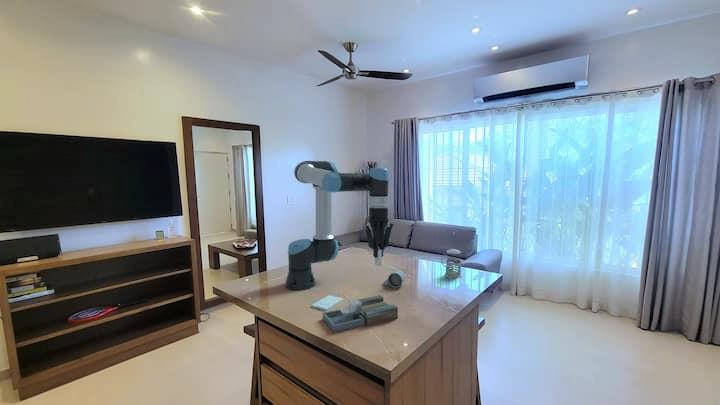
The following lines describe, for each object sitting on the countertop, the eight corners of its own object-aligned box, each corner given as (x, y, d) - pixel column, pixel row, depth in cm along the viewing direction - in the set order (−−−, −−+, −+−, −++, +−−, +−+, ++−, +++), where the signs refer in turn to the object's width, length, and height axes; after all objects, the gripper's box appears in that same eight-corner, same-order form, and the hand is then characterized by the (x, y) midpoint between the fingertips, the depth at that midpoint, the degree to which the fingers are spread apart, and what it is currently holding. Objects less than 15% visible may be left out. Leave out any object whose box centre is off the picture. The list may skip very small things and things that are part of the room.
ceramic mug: (405, 283, 155) (405, 269, 155) (402, 288, 147) (402, 273, 147) (385, 281, 159) (385, 267, 158) (381, 286, 151) (381, 272, 151)
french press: (464, 278, 163) (465, 233, 161) (443, 278, 163) (444, 233, 161) (459, 272, 173) (459, 230, 171) (439, 272, 173) (439, 230, 171)
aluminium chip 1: (348, 316, 116) (339, 319, 114) (348, 307, 116) (339, 309, 114) (353, 321, 112) (343, 323, 110) (352, 311, 112) (343, 313, 110)
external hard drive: (343, 302, 133) (326, 312, 123) (328, 298, 138) (311, 308, 127) (343, 298, 133) (326, 308, 123) (328, 295, 137) (311, 304, 127)
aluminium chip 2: (348, 311, 116) (348, 301, 115) (357, 308, 117) (357, 299, 117) (352, 315, 112) (352, 305, 112) (362, 312, 114) (361, 302, 114)
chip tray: (322, 319, 115) (322, 312, 115) (351, 312, 121) (351, 306, 121) (333, 332, 105) (333, 326, 105) (364, 325, 110) (364, 318, 110)
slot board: (351, 311, 122) (351, 300, 122) (379, 305, 128) (379, 295, 128) (367, 325, 110) (367, 314, 109) (397, 318, 116) (397, 307, 115)
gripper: (368, 208, 111) (368, 269, 113) (397, 207, 116) (396, 265, 118) (359, 206, 117) (359, 264, 119) (387, 205, 123) (387, 260, 125)
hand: (378, 264), depth 119 cm, fingers closed
